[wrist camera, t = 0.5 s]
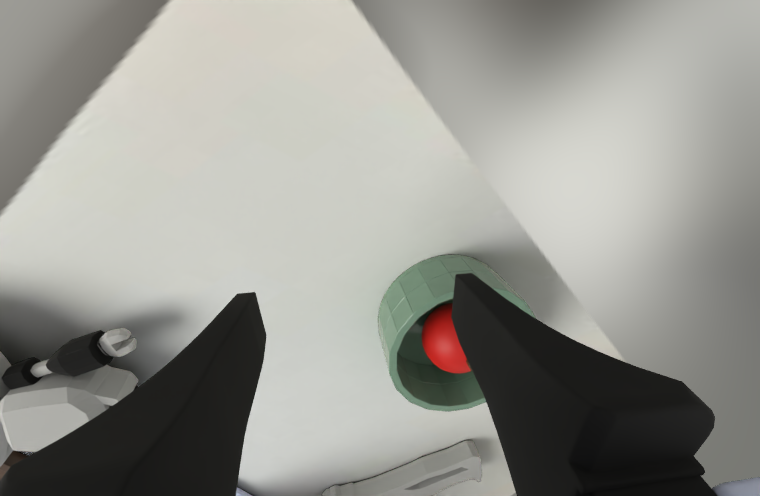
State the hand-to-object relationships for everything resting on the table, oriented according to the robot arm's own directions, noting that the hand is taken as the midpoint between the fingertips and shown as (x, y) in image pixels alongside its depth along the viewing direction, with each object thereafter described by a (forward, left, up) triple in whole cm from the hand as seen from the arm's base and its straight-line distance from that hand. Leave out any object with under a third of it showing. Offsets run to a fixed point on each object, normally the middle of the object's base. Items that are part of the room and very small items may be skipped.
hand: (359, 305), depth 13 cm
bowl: (+1, -11, -10) cm, 15 cm away
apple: (+1, -11, -10) cm, 14 cm away
